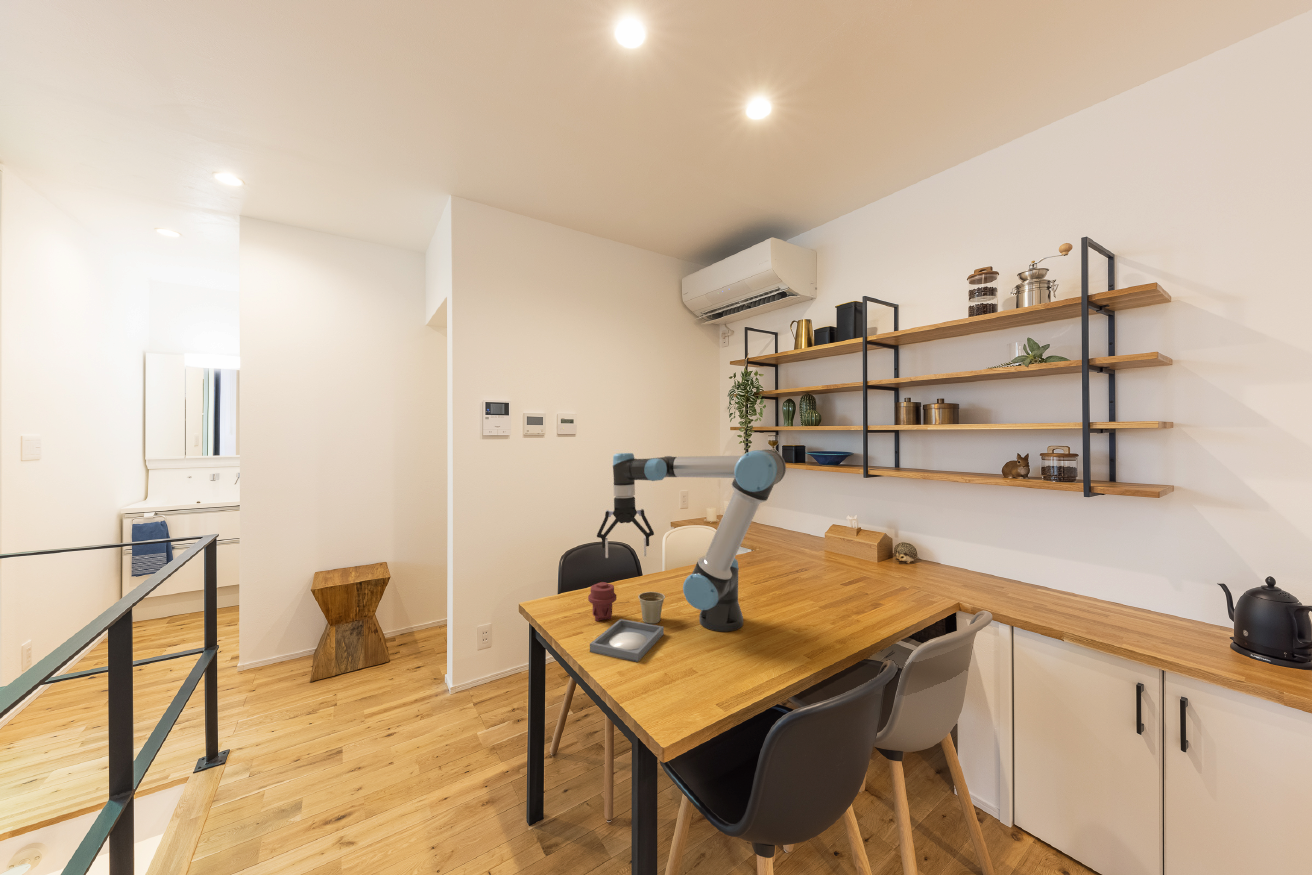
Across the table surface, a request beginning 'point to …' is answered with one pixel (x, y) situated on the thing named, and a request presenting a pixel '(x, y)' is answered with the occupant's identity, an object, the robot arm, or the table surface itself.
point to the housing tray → (627, 640)
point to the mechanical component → (602, 600)
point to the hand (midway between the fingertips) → (626, 556)
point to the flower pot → (651, 606)
